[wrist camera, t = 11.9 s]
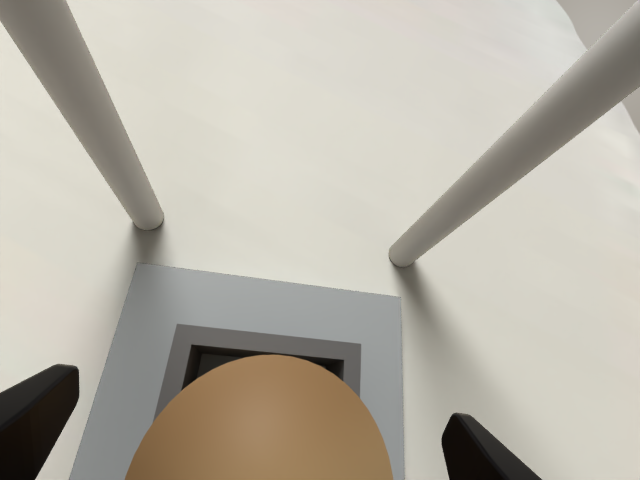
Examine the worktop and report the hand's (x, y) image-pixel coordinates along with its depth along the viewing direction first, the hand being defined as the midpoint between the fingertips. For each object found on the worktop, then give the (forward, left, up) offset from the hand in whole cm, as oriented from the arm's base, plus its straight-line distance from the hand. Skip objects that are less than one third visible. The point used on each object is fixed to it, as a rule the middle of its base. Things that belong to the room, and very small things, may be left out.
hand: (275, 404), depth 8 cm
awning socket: (+1, 0, -10) cm, 10 cm away
